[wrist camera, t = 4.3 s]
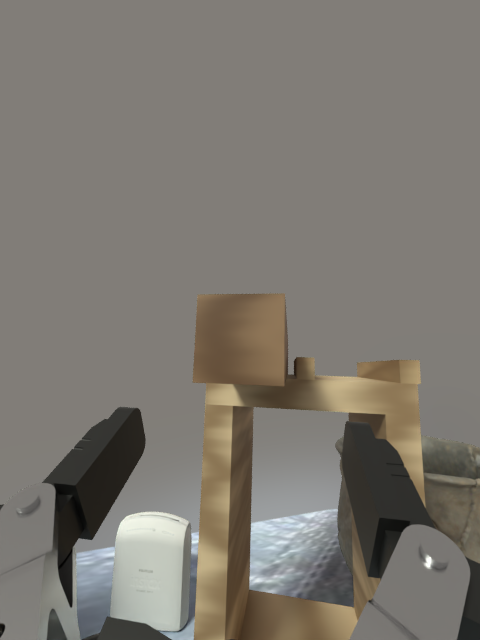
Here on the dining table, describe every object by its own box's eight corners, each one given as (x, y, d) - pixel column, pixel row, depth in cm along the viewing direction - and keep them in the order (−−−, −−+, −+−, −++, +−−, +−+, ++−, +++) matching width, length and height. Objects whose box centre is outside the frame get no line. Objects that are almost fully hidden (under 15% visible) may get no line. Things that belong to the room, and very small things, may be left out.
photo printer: (102, 627, 36) (112, 519, 38) (120, 599, 40) (128, 503, 42) (182, 639, 34) (188, 526, 36) (192, 609, 39) (197, 509, 41)
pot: (343, 539, 55) (341, 424, 59) (497, 578, 46) (484, 440, 50) (330, 657, 33) (327, 459, 36) (627, 780, 24) (585, 499, 27)
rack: (174, 968, 16) (205, 354, 21) (223, 711, 27) (235, 359, 33) (468, 1091, 13) (419, 360, 18) (384, 751, 25) (369, 363, 30)
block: (192, 382, 13) (197, 294, 13) (255, 372, 36) (256, 340, 37) (284, 386, 12) (284, 293, 13) (287, 373, 35) (288, 341, 36)
